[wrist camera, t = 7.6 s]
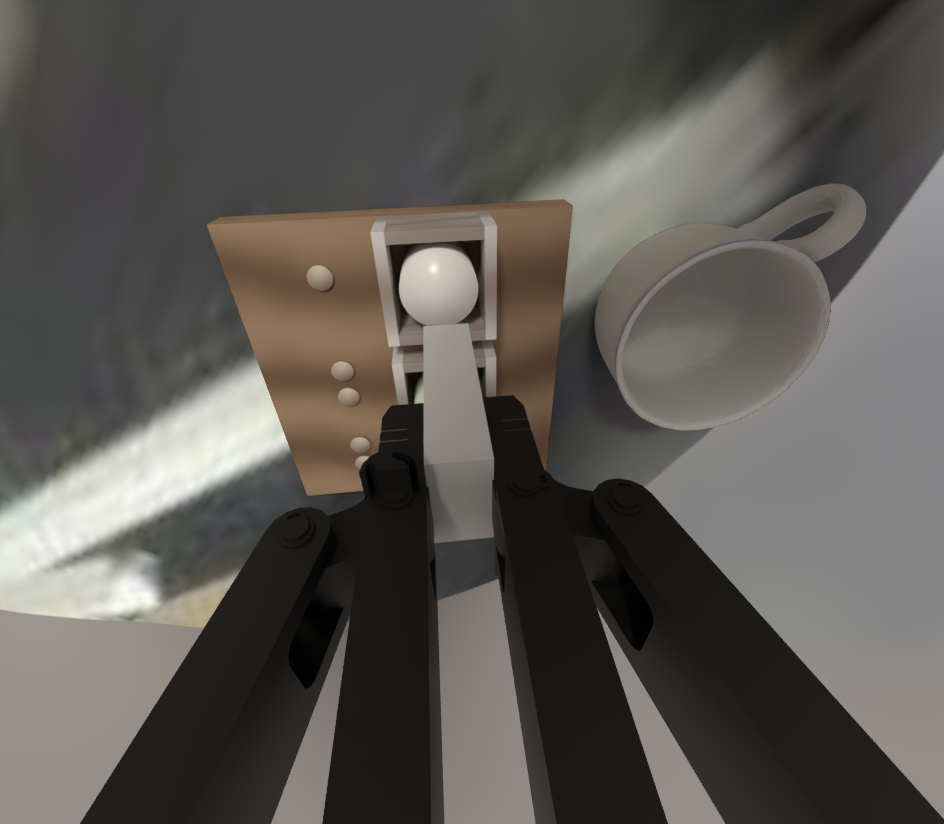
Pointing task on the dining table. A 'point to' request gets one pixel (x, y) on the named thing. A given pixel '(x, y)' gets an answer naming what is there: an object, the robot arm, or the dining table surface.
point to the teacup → (722, 311)
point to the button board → (389, 317)
